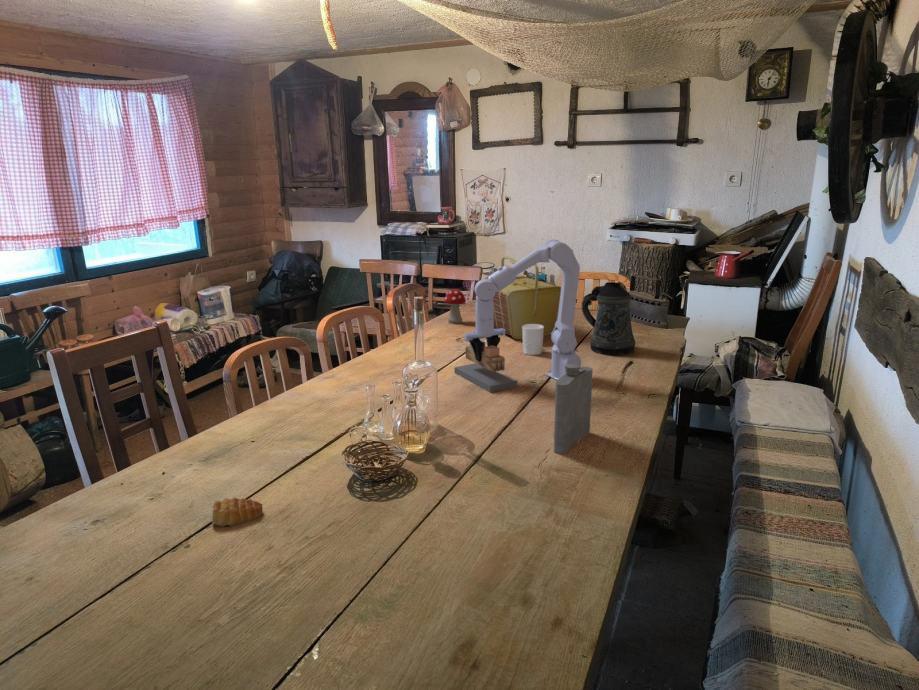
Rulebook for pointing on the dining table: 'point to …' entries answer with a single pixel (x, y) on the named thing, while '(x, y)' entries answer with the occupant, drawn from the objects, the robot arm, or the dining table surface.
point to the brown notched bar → (486, 360)
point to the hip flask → (572, 407)
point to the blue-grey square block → (482, 346)
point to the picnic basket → (526, 304)
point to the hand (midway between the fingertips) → (484, 359)
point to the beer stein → (610, 320)
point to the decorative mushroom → (455, 305)
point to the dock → (486, 377)
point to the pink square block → (491, 351)
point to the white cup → (532, 339)
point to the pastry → (235, 511)
